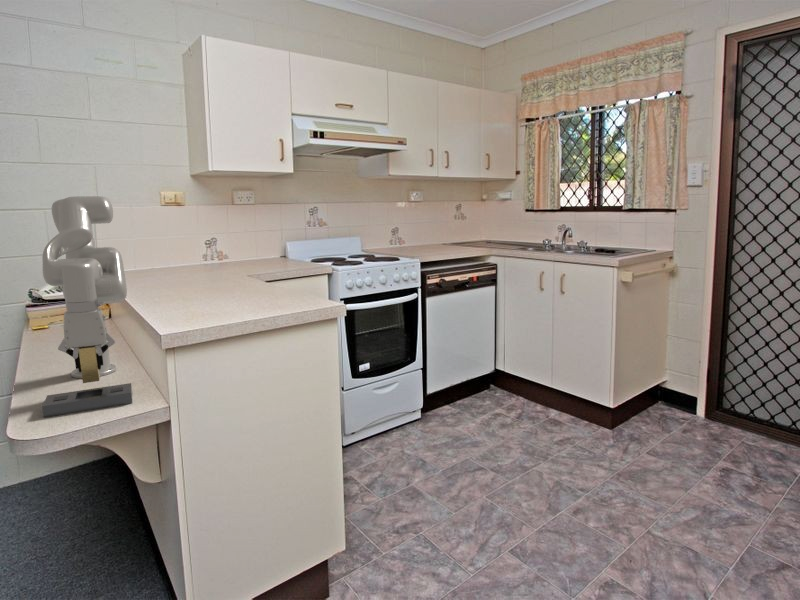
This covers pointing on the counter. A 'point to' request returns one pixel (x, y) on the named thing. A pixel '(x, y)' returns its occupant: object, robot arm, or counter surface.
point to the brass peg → (89, 364)
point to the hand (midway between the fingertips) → (90, 368)
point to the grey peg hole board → (87, 400)
